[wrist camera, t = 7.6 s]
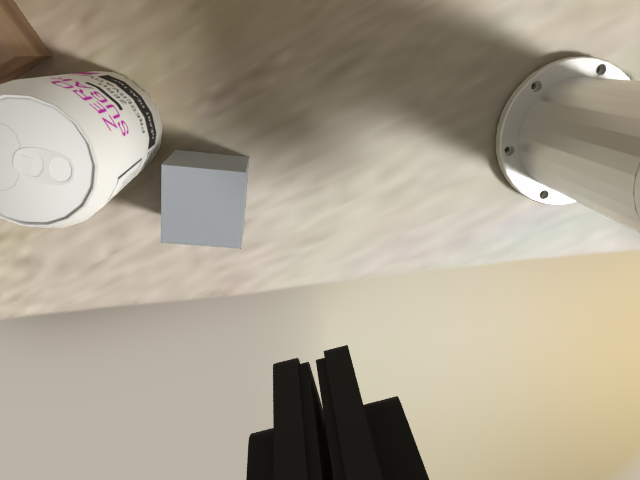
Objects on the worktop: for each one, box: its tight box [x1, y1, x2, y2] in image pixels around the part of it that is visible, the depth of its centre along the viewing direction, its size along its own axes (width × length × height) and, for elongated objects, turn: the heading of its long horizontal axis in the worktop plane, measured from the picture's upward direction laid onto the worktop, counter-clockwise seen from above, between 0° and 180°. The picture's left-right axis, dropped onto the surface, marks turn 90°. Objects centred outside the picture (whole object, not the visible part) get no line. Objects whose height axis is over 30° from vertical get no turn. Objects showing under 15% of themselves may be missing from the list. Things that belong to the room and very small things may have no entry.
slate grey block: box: [161, 150, 249, 249], centre depth 40 cm, size 6×6×6 cm
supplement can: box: [0, 71, 163, 228], centre depth 33 cm, size 8×8×15 cm
